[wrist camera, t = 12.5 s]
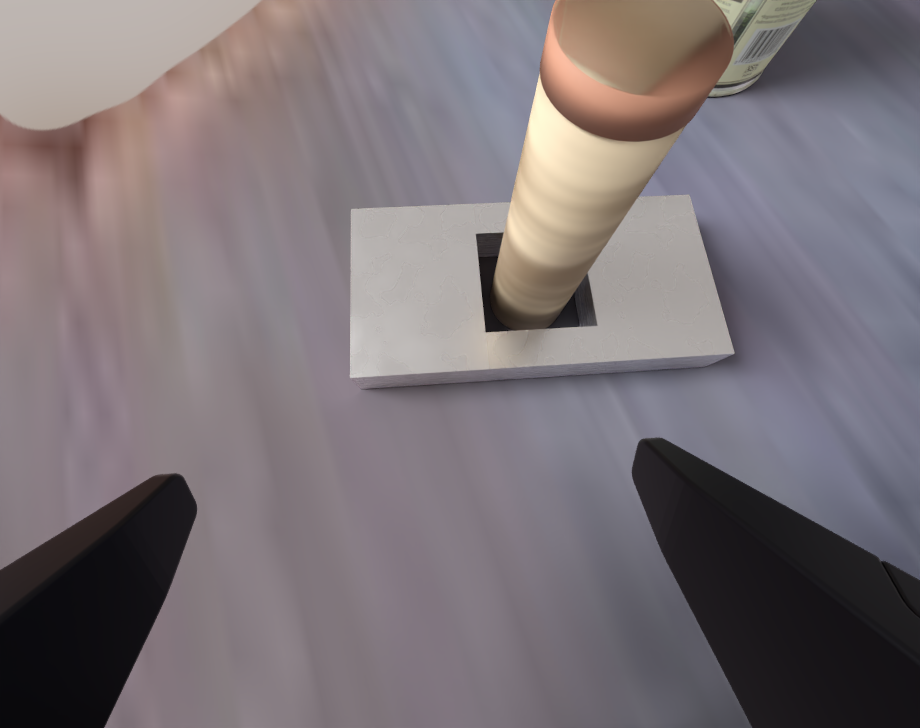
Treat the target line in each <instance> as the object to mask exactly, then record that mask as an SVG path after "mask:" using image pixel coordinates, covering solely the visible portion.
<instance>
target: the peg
mask: <svg viewBox="0 0 920 728" xmlns="http://www.w3.org/2000/svg"><path fill="white" fill-rule="evenodd" d="M733 50H734V39H733V33H732V29H731V26H730V24H729V22H728V20H727V17H726V16H725V14H724V13H723V11H722V10H721V9H720V7H719V6H718V5H717V4H716V3H715V2H714V1H713V0H556V1H555V3H554V5H553V9H552V12H551V17H550V21H549V26H548V30H547V35H546V39H545V44H544V49H543V53H542V58H541V62H540V75H539V79H538V84H537V88H536V93H535V97H534V101H533V106H532V110H531V115H530V119H529V124H528V128H527V132H526V137H525V141H524V146H523V150H522V155H521V159H520V164H519V168H518V172H517V177H516V181H515V186H514V190H513V195H512V199H511V203H510V208H509V212H508V217H507V221H506V226H505V230H504V234H503V239H502V243H501V248H500V252H499V257H498V261H497V266H496V270H495V274H494V279H493V283H492V288H491V292H490V304H491V308H492V310H493V312H494V314H495V316H496V317H497V319H498V320H499V321H500V322H501V323H502V324H504V325H505V326H506V327H508V328H510V329H512V330H515V331H519V330H536V329H546V328H547V327H549V326H550V325H551V324H552V323H553V322H554V321H555V320H556V319H557V317H558V316H559V314H560V313H561V311H562V310H563V308H564V307H565V305H566V304H567V302H568V301H569V299H570V298H571V297H572V295H573V294H574V292H575V291H576V289H577V288H578V286H579V285H580V283H581V282H582V280H583V279H584V277H585V276H586V274H587V273H588V271H589V270H590V268H591V267H592V265H593V264H594V262H595V261H596V259H597V258H598V256H599V255H600V253H601V252H602V250H603V249H604V247H605V246H606V244H607V243H608V241H609V240H610V238H611V237H612V235H613V234H614V232H615V231H616V229H617V228H618V226H619V225H620V223H621V222H622V220H623V219H624V217H625V216H626V214H627V213H628V211H629V210H630V208H631V207H632V205H633V204H634V202H635V201H636V199H637V198H638V196H639V195H640V193H641V192H642V190H643V189H644V187H645V186H646V184H647V183H648V182H649V180H650V179H651V177H652V176H653V174H654V173H655V171H656V170H657V168H658V167H659V165H660V164H661V162H662V161H663V159H664V158H665V156H666V155H667V153H668V152H669V150H670V149H671V147H672V146H673V144H674V143H675V141H676V140H677V138H678V137H679V135H680V134H681V132H682V131H683V129H684V128H685V126H686V125H687V124H688V123H689V122H690V121H691V120H692V119H693V117H694V116H695V115H696V113H697V112H698V110H699V109H700V107H701V106H702V104H703V103H704V101H705V100H706V98H707V97H708V95H709V94H710V93H711V91H712V90H713V88H714V87H715V85H716V84H717V82H718V81H719V79H720V78H721V76H722V75H723V73H724V72H725V70H726V69H727V67H728V65H729V63H730V61H731V58H732V55H733Z"/></svg>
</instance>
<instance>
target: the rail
mask: <svg viewBox="0 0 920 728" xmlns="http://www.w3.org/2000/svg"><path fill="white" fill-rule="evenodd" d="M510 203H511V202H506V203H483V204H459V205H435V206H412V207H388V208H364V209H351V323H350V378H351V379H352V380H353V381H354V382H355V384H356V385H357V386H358V387H359V388H360V389H370V388H386V387H401V386H417V385H432V384H448V383H463V382H479V381H494V380H509V379H525V378H540V377H556V376H571V375H587V374H602V373H618V372H633V371H649V370H664V369H679V368H695V367H706V366H708V365H710V364H713V363H715V362H717V361H719V360H722V359H724V358H726V357H728V356H730V355H733V354H735V353H734V349H733V346H732V342H731V339H730V335H729V332H728V328H727V325H726V321H725V318H724V314H723V311H722V307H721V304H720V300H719V297H718V293H717V290H716V286H715V283H714V279H713V276H712V272H711V269H710V265H709V262H708V258H707V255H706V251H705V248H704V244H703V241H702V237H701V234H700V230H699V227H698V223H697V220H696V216H695V213H694V209H693V206H692V202H691V199H690V195H672V196H648V197H638V198H637V199H636V201H635V202H634V204H633V205H632V207H631V208H630V210H629V211H628V213H627V214H626V216H625V217H624V219H623V220H622V222H621V223H620V225H619V226H618V228H617V229H616V231H615V232H614V234H613V235H612V237H611V238H610V240H609V241H608V243H607V244H606V246H605V247H604V249H603V250H602V252H601V253H600V255H599V256H598V258H597V259H596V261H595V262H594V264H593V265H592V267H591V268H590V270H589V271H588V273H587V274H586V276H585V277H584V279H583V280H582V282H581V283H580V285H579V286H578V288H577V289H576V291H575V292H574V296H575V302H576V308H577V314H578V320H579V325H580V327H570V328H553V329H536V330H519V331H502V332H485V322H484V312H483V302H482V292H481V282H480V272H479V261H478V257H496V256H499V252H500V248H501V243H502V239H503V234H504V230H505V226H506V221H507V217H508V212H509V208H510Z"/></svg>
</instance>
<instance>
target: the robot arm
mask: <svg viewBox="0 0 920 728" xmlns="http://www.w3.org/2000/svg"><path fill="white" fill-rule="evenodd" d="M632 477H633V481H634V484H635V486H636V489H637V491H638V494H639V496H640V499H641V502H642V504H643V507H644V509H645V512H646V514H647V517H648V519H649V522H650V524H651V527H652V529H653V532H654V534H655V537H656V540H657V542H658V544H659V547H660V549H661V551H662V553H663V555H664V557H665V559H666V562H667V564H668V566H669V567H670V569H671V571H672V573H673V575H674V577H675V579H676V581H677V583H678V585H679V587H680V589H681V591H682V593H683V594H684V596H685V598H686V600H687V602H688V604H689V606H690V608H691V610H692V612H693V614H694V616H695V618H696V620H697V622H698V623H699V625H700V627H701V629H702V631H703V633H704V635H705V637H706V639H707V641H708V643H709V645H710V647H711V649H712V650H713V652H714V654H715V656H716V658H717V660H718V662H719V664H720V666H721V668H722V670H723V672H724V674H725V676H726V677H727V679H728V681H729V683H730V685H731V687H732V689H733V691H734V693H735V695H736V697H737V699H738V701H739V703H740V705H741V706H742V708H743V710H744V712H745V714H746V716H747V718H748V720H749V722H750V724H751V726H752V728H920V580H919V579H917V578H915V577H913V576H911V575H910V574H908V573H906V572H904V571H902V570H901V569H899V568H897V567H895V566H893V565H892V564H890V563H888V562H886V561H880V559H879V558H878V557H877V556H875V555H873V554H871V553H870V552H868V551H866V550H864V549H862V548H861V547H859V546H857V545H855V544H853V543H852V542H850V541H848V540H846V539H844V538H843V537H841V536H839V535H837V534H835V533H833V532H832V531H830V530H828V529H826V528H824V527H823V526H821V525H819V524H817V523H815V522H814V521H812V520H810V519H808V518H806V517H804V516H803V515H801V514H799V513H797V512H795V511H794V510H792V509H790V508H788V507H786V506H785V505H783V504H781V503H779V502H777V501H776V500H774V499H772V498H770V497H768V496H766V495H765V494H763V493H761V492H759V491H757V490H756V489H754V488H752V487H750V486H748V485H747V484H745V483H743V482H741V481H739V480H738V479H736V478H734V477H732V476H730V475H728V474H727V473H725V472H723V471H721V470H719V469H718V468H716V467H714V466H712V465H710V464H709V463H707V462H705V461H703V460H701V459H700V458H698V457H696V456H694V455H692V454H690V453H689V452H687V451H685V450H683V449H681V448H680V447H678V446H676V445H674V444H672V443H671V442H669V441H667V440H665V439H663V438H645V439H642V440H640V441H639V443H638V445H637V450H636V454H635V458H634V462H633V467H632ZM196 514H197V504H196V501H195V499H194V497H193V495H192V493H191V491H190V489H189V487H188V485H187V483H186V481H185V479H184V477H183V476H181V475H180V474H177V473H174V474H160V475H155V476H153V477H151V478H149V479H148V480H146V481H144V482H143V483H141V484H140V485H138V486H136V487H135V488H133V489H131V490H130V491H128V492H127V493H125V494H123V495H122V496H120V497H118V498H117V499H115V500H114V501H112V502H110V503H109V504H107V505H105V506H104V507H102V508H101V509H99V510H97V511H96V512H94V513H92V514H91V515H89V516H88V517H86V518H84V519H83V520H81V521H79V522H78V523H76V524H74V525H73V526H71V527H70V528H68V529H66V530H65V531H63V532H61V533H60V534H58V535H57V536H55V537H53V538H52V539H50V540H48V541H47V542H45V543H44V544H42V545H40V546H39V547H37V548H35V549H34V550H32V551H31V552H29V553H27V554H26V555H24V556H22V557H21V558H19V559H17V560H16V561H14V562H13V563H11V564H9V565H8V566H6V567H4V568H3V569H1V570H0V728H104V727H105V725H106V723H107V721H108V719H109V717H110V715H111V713H112V711H113V708H114V706H115V704H116V702H117V700H118V698H119V696H120V694H121V692H122V690H123V687H124V685H125V683H126V681H127V679H128V677H129V675H130V673H131V671H132V668H133V666H134V664H135V662H136V660H137V658H138V656H139V654H140V652H141V650H142V647H143V645H144V643H145V641H146V639H147V637H148V635H149V633H150V631H151V629H152V626H153V624H154V622H155V620H156V618H157V616H158V614H159V612H160V610H161V607H162V605H163V603H164V601H165V598H166V596H167V594H168V591H169V589H170V586H171V584H172V581H173V578H174V575H175V573H176V570H177V567H178V564H179V562H180V559H181V556H182V553H183V551H184V548H185V545H186V542H187V540H188V537H189V534H190V531H191V529H192V526H193V523H194V520H195V518H196Z"/></svg>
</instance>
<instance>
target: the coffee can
mask: <svg viewBox="0 0 920 728" xmlns="http://www.w3.org/2000/svg"><path fill="white" fill-rule="evenodd" d="M713 1H714V2H715V3H716V4H717V5H718V6H719V7H720V9H721V10H722V11H723V13H724V14H725V16H726V17H727V20H728V22H729V24H730V26H731V29H732V33H733V39H734V50H733V55H732V58H731V61H730V63H729V65H728V67H727V69H726V70H725V72H724V73H723V75H722V76H721V78H720V79H719V81H718V82H717V84H716V85H715V87H714V88H713V90H712V91H711V93H710V94H709V95H708V97H718V96H725V95H731V94H734V93H738V92H740V91H742V90H744V89H746V88H748V87H749V86H751V85H752V84H753V83H754V82H756V81H757V80H758V79H759V77H760V76H761V74H762V73H763V71H764V69H765V68H766V66H767V65H768V64H769V62H770V61H771V60H772V58H773V57H774V56H775V54H776V53H777V52H778V51H779V49H780V48H781V47H782V45H783V44H784V43H785V41H786V40H787V39H788V37H789V36H790V35H791V33H792V32H793V31H794V29H795V28H796V27H797V25H798V24H799V23H800V22H801V20H802V19H803V18H804V16H805V15H806V14H807V12H808V11H809V10H810V8H811V7H812V6H813V4H814V3H815V2H816V1H817V0H713Z"/></svg>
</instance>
